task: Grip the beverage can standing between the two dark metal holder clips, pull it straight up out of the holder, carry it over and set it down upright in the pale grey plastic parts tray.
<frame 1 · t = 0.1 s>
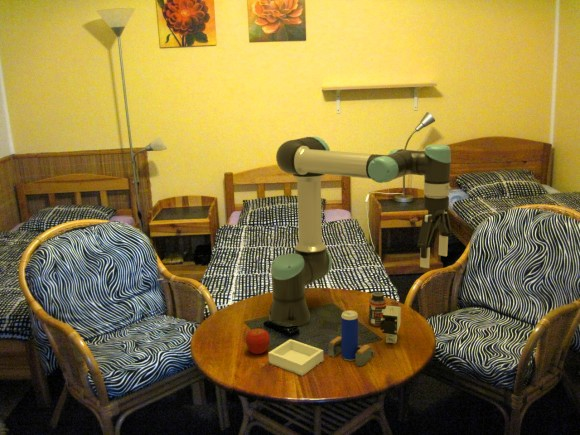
hand: (433, 261, 173), 28 cm above the table, fingers open, 13 cm apart
fuse holder: (349, 357, 172), on the table
apple: (258, 352, 177), on the table
beverage can: (349, 357, 172), on the table
parts tray: (296, 361, 170), on the table
supplement bottle: (377, 323, 195), on the table
pneumatic valve: (390, 341, 182), on the table
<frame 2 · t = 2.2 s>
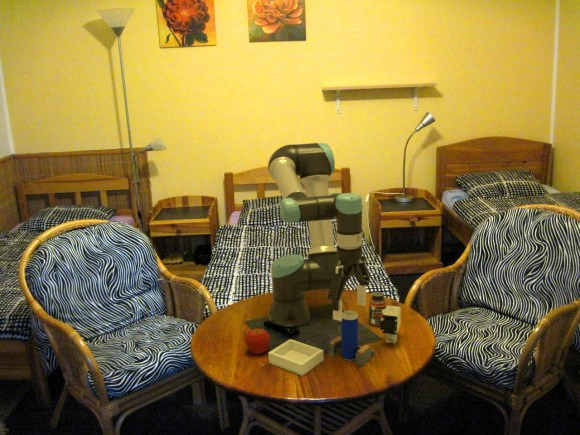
hand: (349, 312, 168), 16 cm above the table, fingers open, 13 cm apart
nothing on the table moved.
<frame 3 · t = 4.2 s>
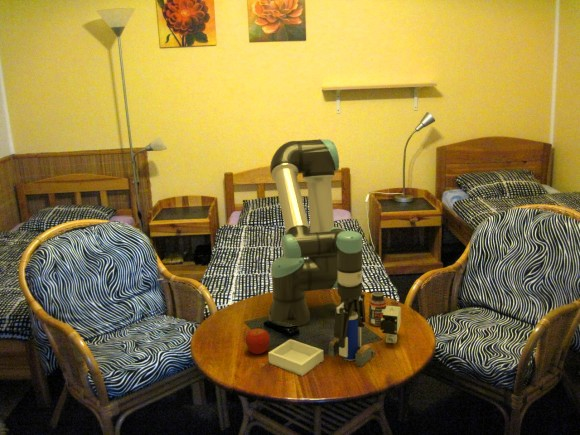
hand: (350, 350, 172), 2 cm above the table, fingers open, 7 cm apart
nothing on the table moved.
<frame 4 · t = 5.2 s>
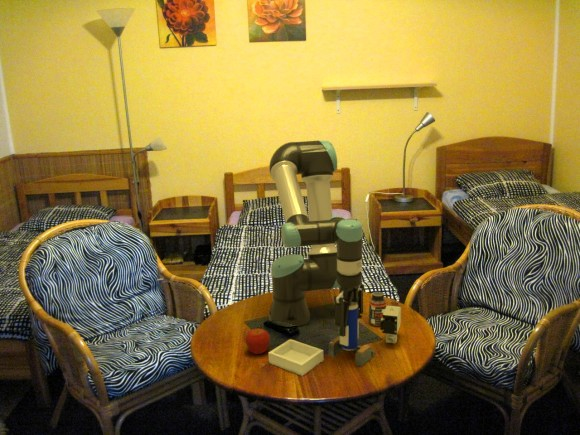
hand: (349, 340, 171), 6 cm above the table, fingers closed on beverage can, 5 cm apart
beverage can: (349, 347, 172), point 3 cm above the table, touching gripper
everything else where it was.
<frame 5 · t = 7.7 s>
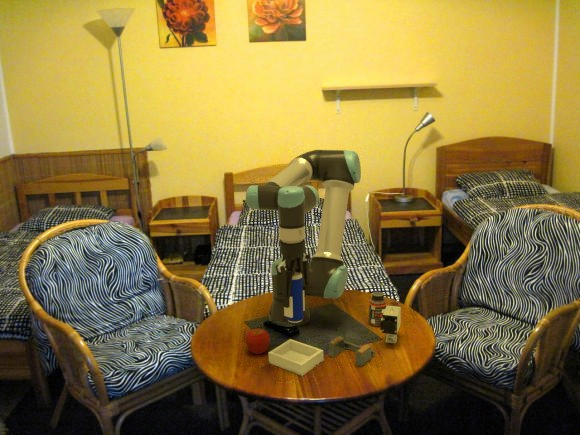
hand: (294, 312, 166), 17 cm above the table, fingers closed on beverage can, 5 cm apart
beverage can: (295, 320, 167), point 14 cm above the table, touching gripper
everything else where it was.
when the fingers open (4 cm above the table, at t = 10.6 s): beverage can stays where it is, resting on parts tray.
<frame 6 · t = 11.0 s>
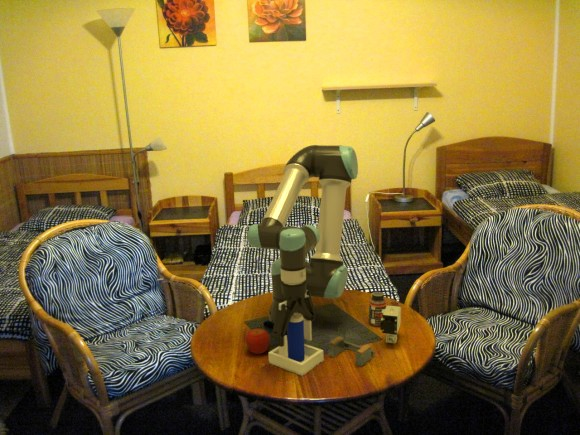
hand: (295, 346, 169), 5 cm above the table, fingers open, 11 cm apart
beverage can: (296, 360, 170), resting on parts tray
everything else where it was.
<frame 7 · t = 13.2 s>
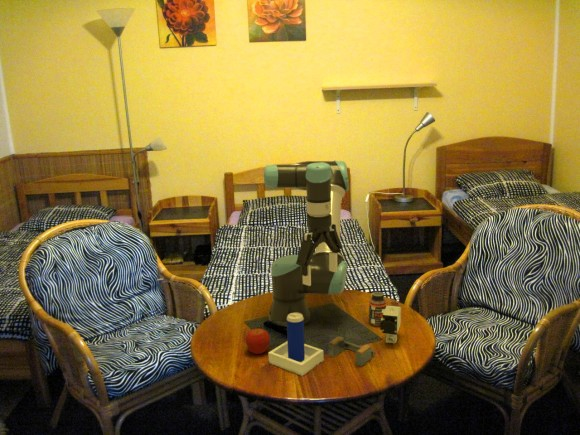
hand: (320, 277, 174), 24 cm above the table, fingers open, 13 cm apart
nothing on the table moved.
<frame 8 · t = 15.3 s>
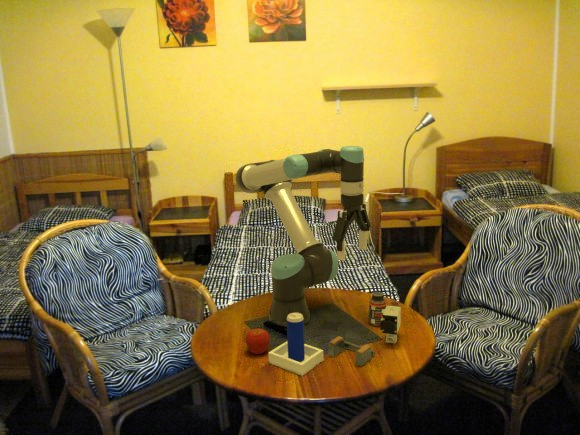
hand: (352, 254, 186), 27 cm above the table, fingers open, 13 cm apart
nothing on the table moved.
at the end: beverage can inside the target area on the parts tray (0.1 cm from its centre), point 0.4 cm above the parts tray's base; beverage can tilted 0°; beverage can touching parts tray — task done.
